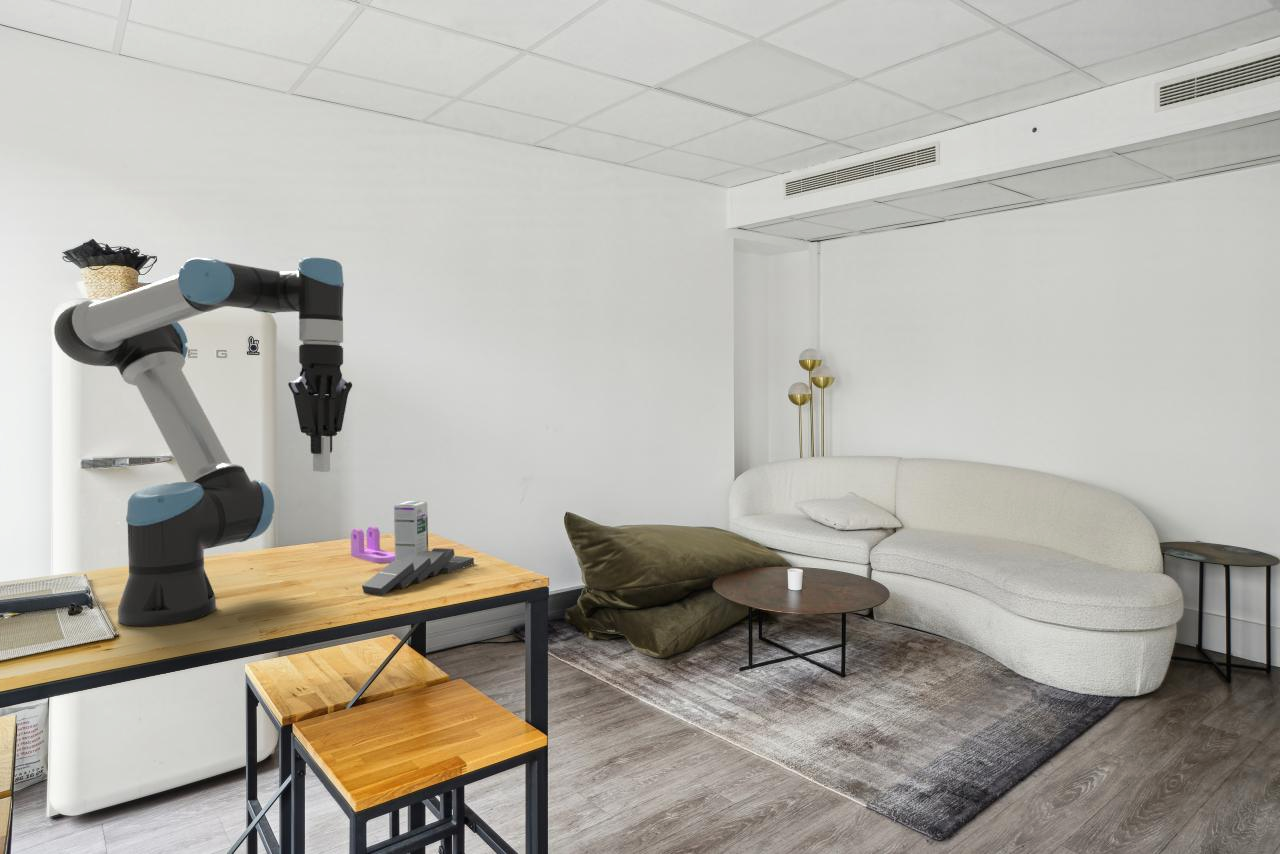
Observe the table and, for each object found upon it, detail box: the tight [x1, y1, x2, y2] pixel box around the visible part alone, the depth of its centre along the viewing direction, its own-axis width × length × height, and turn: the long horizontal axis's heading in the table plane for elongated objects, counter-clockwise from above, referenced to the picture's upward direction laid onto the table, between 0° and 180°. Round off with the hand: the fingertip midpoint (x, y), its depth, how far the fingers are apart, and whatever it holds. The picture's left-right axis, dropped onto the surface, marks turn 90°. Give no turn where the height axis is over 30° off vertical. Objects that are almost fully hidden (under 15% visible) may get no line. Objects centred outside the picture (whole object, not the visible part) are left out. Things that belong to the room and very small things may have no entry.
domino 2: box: [391, 555, 431, 590], centre depth 162 cm, size 5×2×10 cm
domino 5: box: [437, 555, 475, 575], centre depth 176 cm, size 5×2×10 cm
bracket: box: [350, 525, 395, 564], centre depth 185 cm, size 13×6×7 cm, turn 50°
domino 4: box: [427, 547, 456, 577], centre depth 172 cm, size 5×2×10 cm
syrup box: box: [393, 500, 429, 561], centre depth 179 cm, size 6×6×14 cm
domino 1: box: [361, 560, 414, 596], centre depth 158 cm, size 5×2×10 cm
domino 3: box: [411, 550, 445, 584], centre depth 167 cm, size 5×2×10 cm
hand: (321, 470), depth 142 cm, fingers closed
